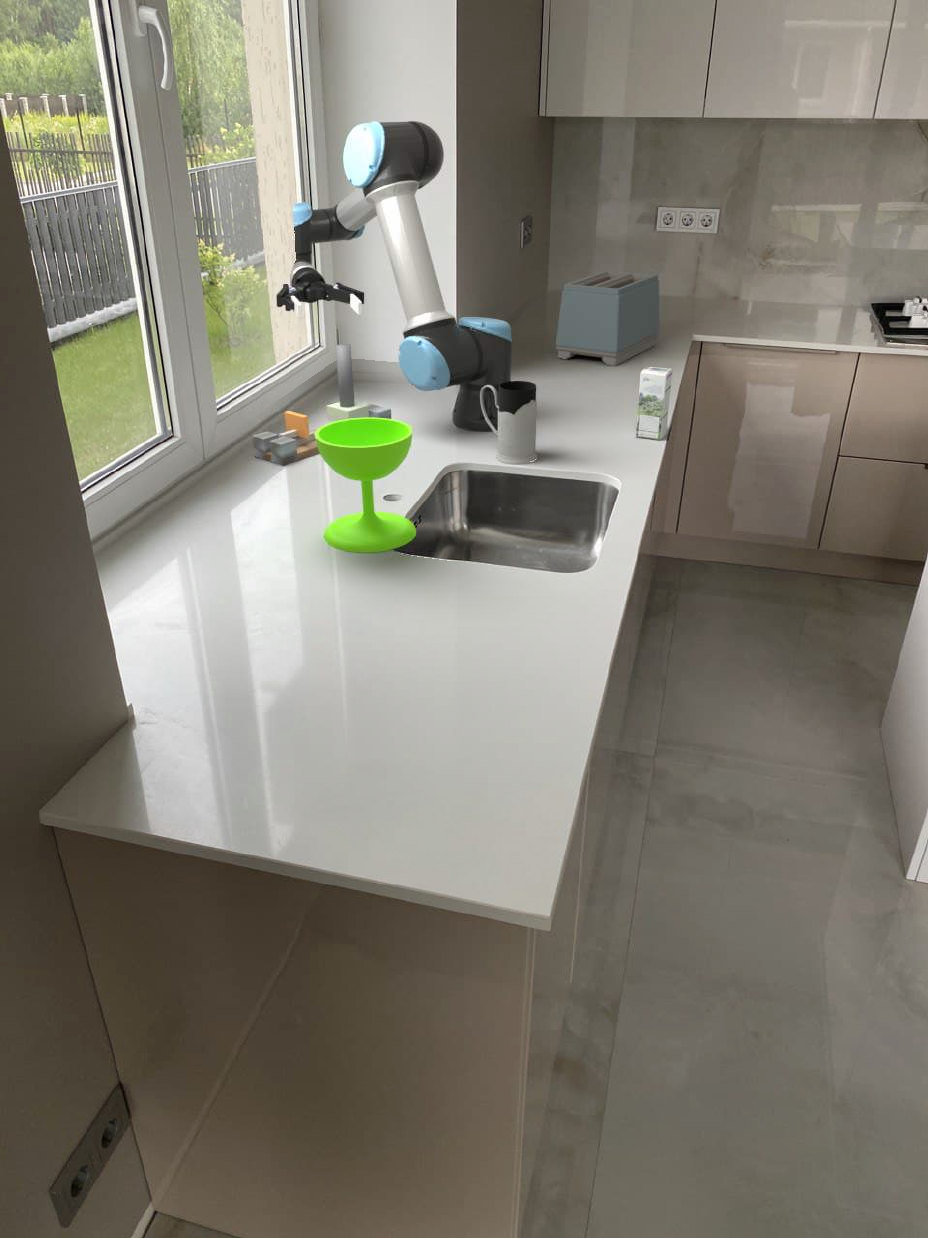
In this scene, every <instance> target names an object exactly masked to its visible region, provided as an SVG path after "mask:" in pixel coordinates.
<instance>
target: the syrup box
mask: <svg viewBox="0 0 928 1238" xmlns="http://www.w3.org/2000/svg"><path fill="white" fill-rule="evenodd" d="M639 376H640V377H639V388H638V390H639V391H638V401H637V415H636V417H637V418H636V427H635V438H639V439H646V440H647V439H648V440H657V441H661V440H663V438H664V437H665V436H666V434H667V432H668V419H669V407H670V400H671V399H670V397H671V387H672V381H673V380H672V377H673V368H667V367H666V368H664V367H657V366H656V367H655V366H654V367H653V366H646V367H644V368H643V369H642V371H640V375H639Z"/></svg>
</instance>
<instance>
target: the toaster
mask: <svg viewBox="0 0 928 1238" xmlns="http://www.w3.org/2000/svg"><path fill="white" fill-rule="evenodd" d="M558 314H559V316H558V322H557V329H556V339H555V349H556V350H557V358H558V357H563V358H569V359H571V358H574V357H575V355H576V356H578V355H580V356H586V357H587V356H588V357H595V358H601V360H602V362H603V363H604V364H605V365H606V366H608V365H612V366H611V367H616V366H618V365H620V364H622V363H624V362H626V361H628V360H629V358H630V359H632V358H633V356H634V357H636V356H637V354H638V355H640V354H641V353H643V352H645V351H647V350H649V349H651V348H653V347H655V346H654V345H656V343H657V342H656V341H657V338H659V333H660V280H659V274H657V273H656V274H655V273H643V272H631V271H620V270H619V271H618V270H609V269H608V270H604V271H600V272H597V273H594V274H592V275H588V276H585V277H583V278H580V279H577V280H574V281H570V282H567V283H565V284H563V290H562V291H561V300H560V307H559V313H558ZM652 346H653V347H652ZM639 353H640V354H639ZM577 354H578V355H577ZM635 355H636V356H635ZM573 356H574V357H573ZM570 357H571V358H570ZM631 357H632V358H631ZM627 359H628V360H627Z"/></svg>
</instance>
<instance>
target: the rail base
mask: <svg viewBox="0 0 928 1238" xmlns="http://www.w3.org/2000/svg"><path fill="white" fill-rule="evenodd" d="M360 403H361V404H365V405H368V410H369V418H387V419H392V409H391V408H389V407H385V406H380V405H378V404H377V405H376V404H373V403H368V402H364V401H362V402H360ZM317 429H318V428H317ZM317 429H314V430H311V431H310V430H309V435H310V437H308V438H302V437H299V436H297V437H294V438H288V437H285V436H284V437H281V438H279V434H277V433H274V432H272V431H271V432H270V431H264V432H261V433H258V434H254V435H252V442H253V452H254V457H255V456H256V457H255V458H257V457H259V458H258V459H261V460H263V461H267V462H269V463H270V462H271V463H274V464H277V465H278V466H279V465H280V466H282V467H283V466H284V467H285V466H286V465H290V464H292V463H295V462H299V461H301V460H304V459H306V458H310V457H312V456H314V455H315V456H316V455H319V454H320V452H319V450H318V448H317V444H316V439H315V435H314V434H315V432H316V430H317Z"/></svg>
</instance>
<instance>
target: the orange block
mask: <svg viewBox="0 0 928 1238" xmlns="http://www.w3.org/2000/svg"><path fill="white" fill-rule="evenodd" d="M284 420H285V421H284V423H285V432H281V433H279V434H278V436H279V438H281V437H284V436H285V437H288V438H294V437H297V436H299V437H302V438H308V437H310V435H309V432H310V427H309V416H308V415H305V414H301V413H297V412H295V411H294V412H293V411H291V410H287V411H284Z"/></svg>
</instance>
